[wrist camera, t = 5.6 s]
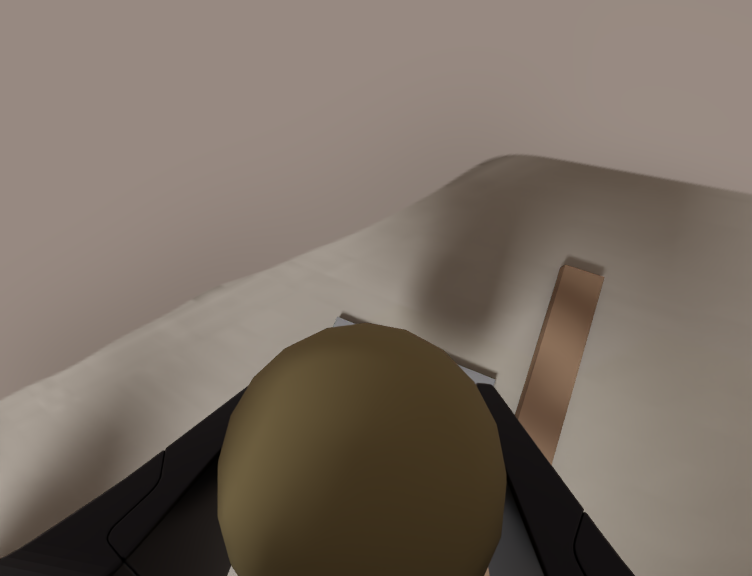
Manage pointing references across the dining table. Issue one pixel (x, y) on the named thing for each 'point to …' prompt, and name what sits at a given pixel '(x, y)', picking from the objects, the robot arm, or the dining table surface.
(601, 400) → the dining table surface
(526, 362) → the dining table surface
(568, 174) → the dining table surface
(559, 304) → the walnut line
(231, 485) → the cork
